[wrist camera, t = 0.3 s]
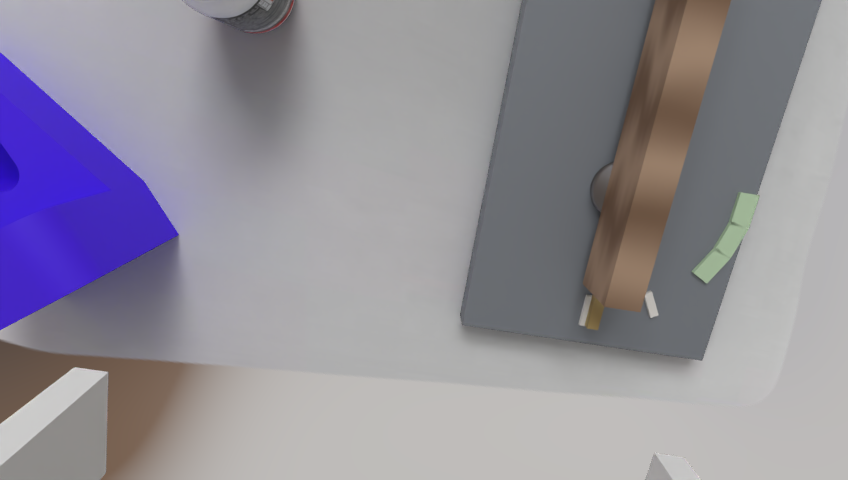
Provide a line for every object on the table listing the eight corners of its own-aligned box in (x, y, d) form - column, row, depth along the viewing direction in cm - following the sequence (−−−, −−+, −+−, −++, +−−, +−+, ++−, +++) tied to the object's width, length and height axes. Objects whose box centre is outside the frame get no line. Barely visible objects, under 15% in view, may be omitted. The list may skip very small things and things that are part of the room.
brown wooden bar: (659, -92, 32) (707, -131, 27) (721, -80, 32) (780, -116, 27) (558, 314, 39) (580, 347, 33) (609, 322, 39) (639, 356, 34)
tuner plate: (548, -135, 33) (558, -153, 31) (826, -79, 34) (855, -92, 32) (460, 314, 41) (462, 326, 39) (689, 348, 42) (704, 362, 40)
